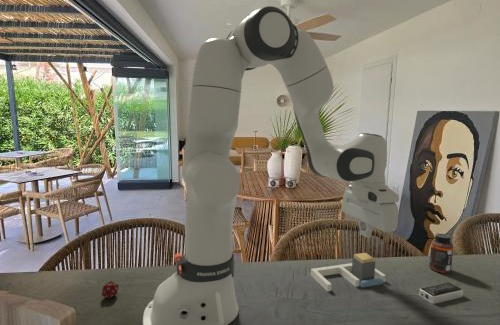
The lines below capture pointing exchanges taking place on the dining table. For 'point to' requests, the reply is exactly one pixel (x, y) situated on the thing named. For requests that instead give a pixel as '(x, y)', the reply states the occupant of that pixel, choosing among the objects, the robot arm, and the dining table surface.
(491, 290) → the dining table surface
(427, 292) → the multiport hub
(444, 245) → the supplement bottle
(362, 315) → the dining table surface
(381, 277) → the white e-shaped frame
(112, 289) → the dice
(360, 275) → the grey tan-topped block
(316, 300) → the dining table surface
